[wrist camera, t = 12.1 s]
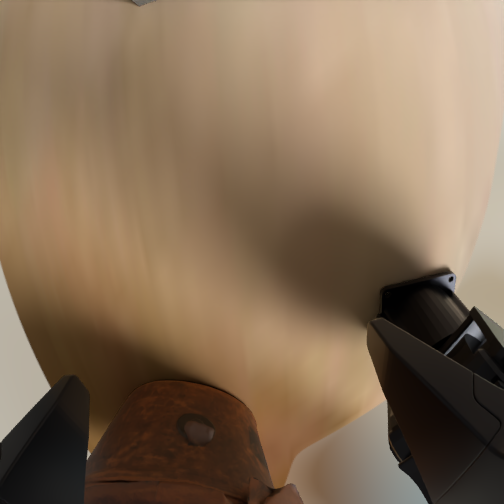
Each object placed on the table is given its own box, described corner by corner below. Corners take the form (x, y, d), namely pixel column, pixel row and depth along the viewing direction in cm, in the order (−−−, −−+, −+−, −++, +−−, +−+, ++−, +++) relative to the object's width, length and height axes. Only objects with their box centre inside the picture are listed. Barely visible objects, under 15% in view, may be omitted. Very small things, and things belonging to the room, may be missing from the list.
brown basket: (310, 447, 31) (324, 590, 15) (153, 462, 34) (128, 580, 18) (270, 335, 24) (279, 578, 8) (71, 367, 27) (-3, 516, 11)
